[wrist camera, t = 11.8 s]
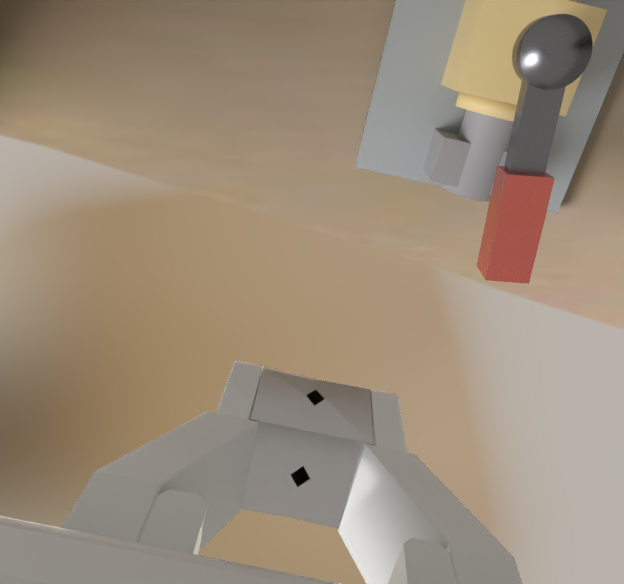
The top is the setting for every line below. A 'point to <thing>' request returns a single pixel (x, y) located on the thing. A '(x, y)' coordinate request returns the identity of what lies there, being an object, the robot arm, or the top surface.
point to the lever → (531, 144)
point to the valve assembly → (477, 91)
